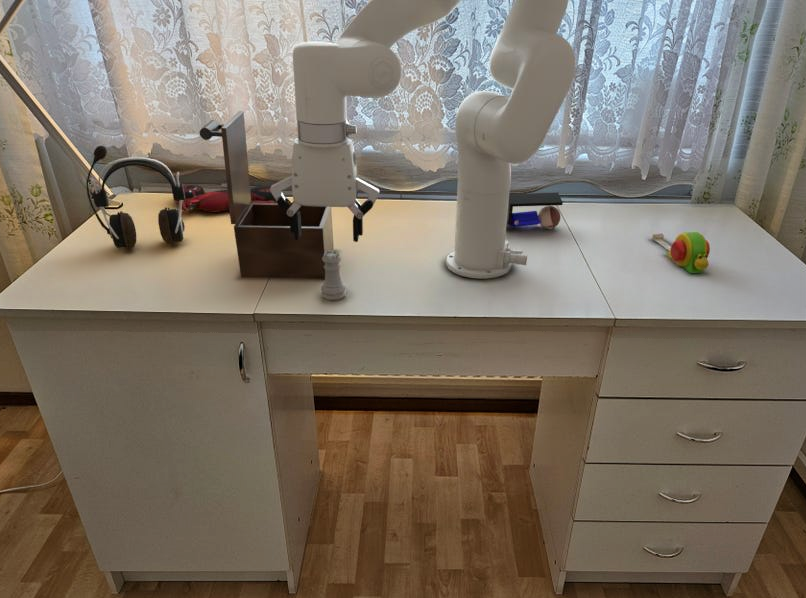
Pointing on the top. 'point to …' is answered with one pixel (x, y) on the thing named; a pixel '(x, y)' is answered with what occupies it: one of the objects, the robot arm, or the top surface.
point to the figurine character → (546, 216)
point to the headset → (122, 222)
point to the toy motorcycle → (220, 198)
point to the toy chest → (283, 242)
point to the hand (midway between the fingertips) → (327, 237)
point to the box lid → (233, 161)
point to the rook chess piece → (332, 277)
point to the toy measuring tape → (687, 250)
